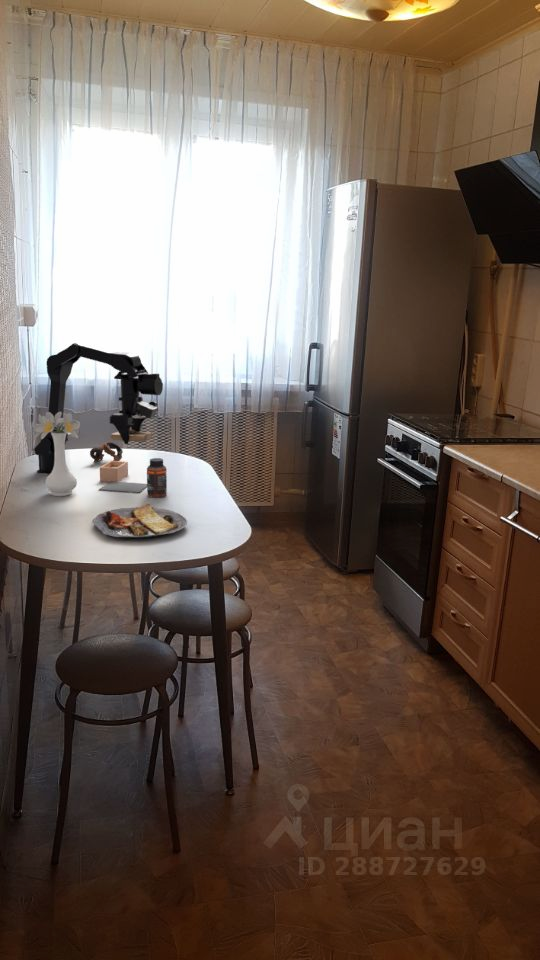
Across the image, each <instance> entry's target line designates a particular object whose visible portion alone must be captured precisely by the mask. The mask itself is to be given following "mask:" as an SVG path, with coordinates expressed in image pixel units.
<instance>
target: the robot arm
mask: <svg viewBox="0 0 540 960" xmlns="http://www.w3.org/2000/svg"><path fill="white" fill-rule="evenodd" d="M80 358H84V359H87V360H92V361H95V362H97V363H98V362H99V363H103V364H107V365H109V366H110V367H112V369H114V370H117V371H118V373H117V374H116V375H115V376H114V377H113V379H114V380H120V396H119V397H118V401H121V403H120V406H121V409H119V411H118V412H116V413H112V414H111V415H110V416H109V424H110V425H111V424H112V425H113V426H114V427H115V428H116V430H117V432H119V434H120V435H121V437H122V439H123V441H122V442H123V443H124V444H125V445H129V443H130V441H129V434H130V430H135V431H137V432H142V427H143V424H144V422H146V421H147V420H148V419H152V418H154V417H155V416H156V413H157V412H158V411H159V406H158V402H157V401H155V400H151V401H150V402H145V401H144V400H143V396H142V395H145V396H146V395H148V396H160V395H161V394H162V393H163V389H164V383H163V380H162V378H161V377H160V373H157V372H155V373H149V371H148V370H147V369H146V367H145V366H144V365H143V363H142V361H141V357H140V356H139V355H138V354H137V353H135V352H118V351H117V352H115V351H111V350H108V349H103V348H99V347H98V346H97V347H96V346H94V345H93V346H92V345H88V344H85V343H83V342H75V343H71V344H70V345H69V346H68V347H66V348H65V349H63V350H61V351H59V352H58V353H57V354H51V355H50V356H49V357H47V359H46V372H47V375H48V377H49V380H50V381H49V382H50V385H49V396H48V410H47V412H50V413H51V414H52V415H53V416H54V419H55V415H56V414H57V413H58V412H62V415H61V417H60V418H64V413H65V412H64V409H65V398H66V397H65V396H66V385H67V381H68V379H69V378H70V375H71V373H72V371H73V369H72V368H73V365H74V364H75V363H77V362H78V361H79V360H80ZM140 394H141V395H140ZM155 418H156V417H155ZM54 428H56V427H54ZM56 429H57V428H56ZM60 429H61V427H60V428H59V431H60ZM53 431H57V430H53ZM68 436H69V435H68V434H66V437H65V445H66V444H67V442H68V441H69V439H68ZM33 451H34V453H35V455H36V456H38V469H37V470H36V472H37V473H42V474H43V473H44V474H51V472H52V470H53V468H54V462H55V447H54V440H53V436H52V435H51V432H49V433H48V434H47V435H46V436H45V437H44V438H43V439H41V438H40V442H38V444H37V445H36V446H35V447H34V449H33Z"/></svg>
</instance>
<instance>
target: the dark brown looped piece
mask: <svg viewBox="0 0 540 960" xmlns="http://www.w3.org/2000/svg"><path fill="white" fill-rule="evenodd" d="M103 443H104V444H100V446H98V447H96V446H95V447H92V448H91V449H90V451H89V456H90V458H92V459H93V460H94V461H93V462H94V463H99V462H100V459H104V456H105V454H107V455H110V456H111V457H112V458H113V460H112V461H122V458H123V455H122V454H123V452H124V451H123V449H122V448H121V446H119V445H118V444H117V443H114V442H111V441H105V442H103ZM115 450H116V451H117V452H116V451H115ZM103 452H104V453H103Z"/></svg>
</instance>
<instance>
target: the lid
mask: <svg viewBox="0 0 540 960" xmlns="http://www.w3.org/2000/svg"><path fill="white" fill-rule="evenodd" d="M152 437H153V433H152V432H150V431H148V432H147V431H140V432H137V431H135V430H132V429H130V434H129V442H136V443H138V442H139V443H143V442H146V441H149V440H151V439H152ZM110 440H111V441H120V442H121V441H122V442H124V441H123V439H122V437H121V435H120V434H119V432H118V431H115V432H113V433H110Z"/></svg>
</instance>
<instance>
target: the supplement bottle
mask: <svg viewBox="0 0 540 960" xmlns="http://www.w3.org/2000/svg"><path fill="white" fill-rule="evenodd" d="M167 475H168V474H167V466H165V465H164V459H163V458H161V457H159V458H158V457H154V458H150V459H149V465H148V466H147V468H146V484H147V487H146V490H147V491H146V492H147V493H146V494H147V496H149V497H150V498H163V497H165V496H167V494H168V492H167V491H168V488H167V486H168V485H167V484H168V483H167V481H168V480H167V479H168V477H167Z"/></svg>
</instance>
